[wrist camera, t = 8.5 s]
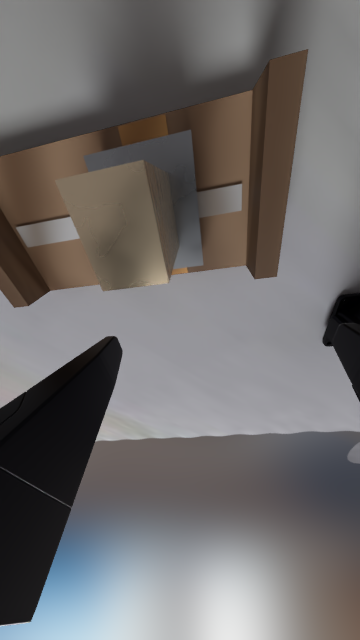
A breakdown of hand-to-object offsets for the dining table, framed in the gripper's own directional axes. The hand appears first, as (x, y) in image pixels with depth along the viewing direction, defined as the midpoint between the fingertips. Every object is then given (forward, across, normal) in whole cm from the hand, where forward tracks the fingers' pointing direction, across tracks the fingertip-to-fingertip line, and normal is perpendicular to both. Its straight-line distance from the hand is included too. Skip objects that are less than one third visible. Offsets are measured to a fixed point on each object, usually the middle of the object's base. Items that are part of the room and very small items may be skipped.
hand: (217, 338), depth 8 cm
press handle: (+10, +4, -4) cm, 11 cm away
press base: (+11, +6, -4) cm, 14 cm away
